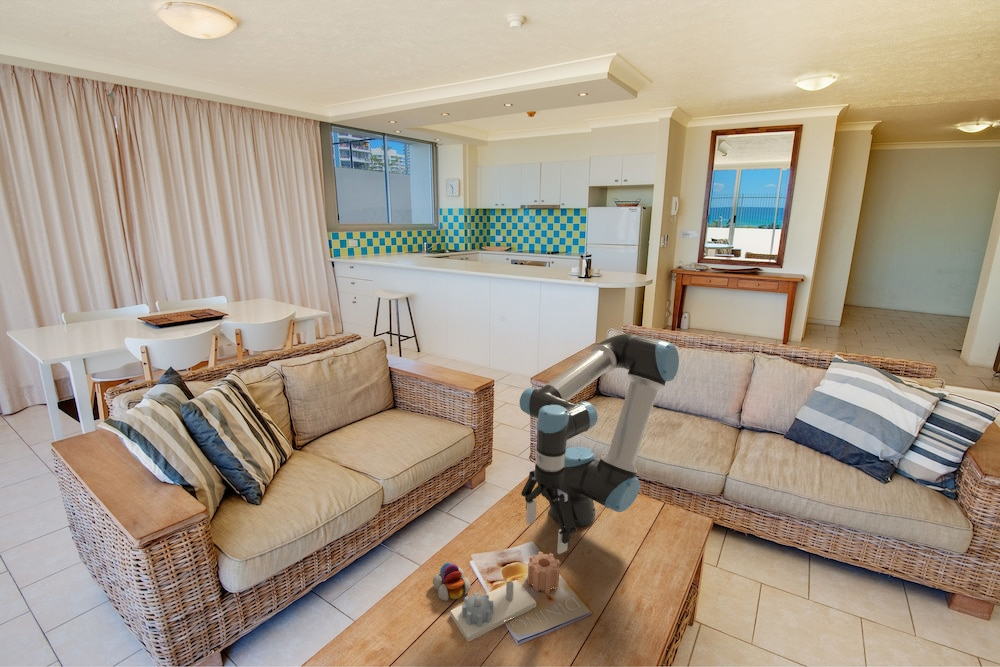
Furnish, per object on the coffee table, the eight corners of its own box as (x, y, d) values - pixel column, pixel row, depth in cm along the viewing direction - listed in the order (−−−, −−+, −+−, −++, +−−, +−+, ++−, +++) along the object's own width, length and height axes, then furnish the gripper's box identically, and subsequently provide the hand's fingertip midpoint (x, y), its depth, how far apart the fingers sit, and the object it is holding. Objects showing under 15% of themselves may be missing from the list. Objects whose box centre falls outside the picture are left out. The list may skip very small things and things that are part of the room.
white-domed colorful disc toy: (443, 608, 122) (442, 584, 120) (430, 582, 130) (429, 560, 128) (473, 597, 125) (473, 573, 124) (459, 572, 134) (459, 550, 132)
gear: (522, 577, 132) (522, 558, 131) (545, 566, 137) (546, 548, 135) (540, 597, 126) (541, 578, 124) (564, 585, 130) (566, 566, 128)
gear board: (450, 615, 119) (450, 595, 118) (516, 584, 130) (516, 565, 128) (467, 642, 112) (468, 621, 111) (535, 606, 123) (536, 587, 121)
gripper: (510, 448, 130) (508, 515, 136) (571, 493, 110) (565, 570, 115) (532, 441, 134) (529, 507, 140) (594, 484, 114) (588, 559, 119)
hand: (545, 536), depth 127 cm, fingers open, 13 cm apart
